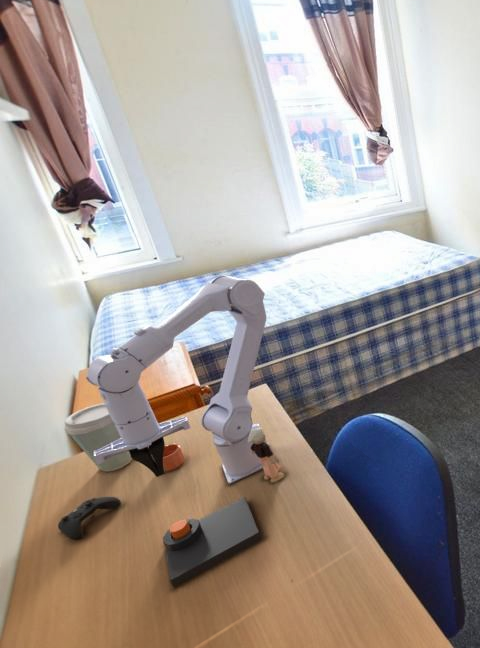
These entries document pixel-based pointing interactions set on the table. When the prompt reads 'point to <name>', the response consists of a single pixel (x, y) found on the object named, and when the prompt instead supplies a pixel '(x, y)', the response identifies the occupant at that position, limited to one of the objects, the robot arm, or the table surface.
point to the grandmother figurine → (264, 455)
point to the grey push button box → (210, 541)
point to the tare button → (179, 529)
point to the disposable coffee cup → (96, 434)
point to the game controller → (85, 515)
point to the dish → (172, 457)
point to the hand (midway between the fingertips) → (160, 473)
